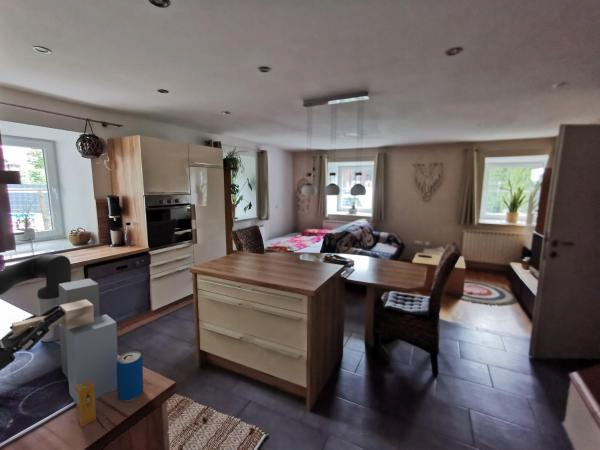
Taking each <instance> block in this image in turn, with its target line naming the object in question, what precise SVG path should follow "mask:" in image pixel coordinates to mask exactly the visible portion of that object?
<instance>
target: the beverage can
mask: <svg viewBox="0 0 600 450" xmlns="http://www.w3.org/2000/svg"><path fill="white" fill-rule="evenodd" d="M143 359H144V358H143V356H142V354H141V352H139V351H129V352H126V353H123V354H121V355H120V356H118V362H117V389H116V390H117V399H118V400H120V401H123V402H131V401H134V400H135V399H136V398H138V397H139V396H140V395H142V393H143V392H144V363H143V362H144V361H143Z"/></svg>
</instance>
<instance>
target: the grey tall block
mask: <svg viewBox="0 0 600 450" xmlns="http://www.w3.org/2000/svg"><path fill="white" fill-rule="evenodd" d="M117 327H118V326H117V321H115V320H114V319H113V318H112V317H110V316H109V315H108V314H102V315H100V316H98V317H94V322H92V323H88V324H85V325H81V326H77V327H74V328H70V329H66V345H67V362H68V379H69V380H68V379H67V380H68V393H69V395H70V397H71V399H72V400H73V401H74V404H76V405H77V403H76V391H75V386H77V385H80V384H82V383H84V382H86V381H88V380H90V381H91V383H93V384H94V394H95V400H97V399H98V398H100V397H102V396H104V395H106V394H108V393H110V392H112V391H115V390H117V362H118V359H119V356H118V354H119V353H118V334H117V333H118V332H117V330H118V328H117Z"/></svg>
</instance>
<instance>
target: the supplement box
mask: <svg viewBox="0 0 600 450" xmlns="http://www.w3.org/2000/svg"><path fill="white" fill-rule="evenodd" d="M75 391H76V403H77V404H76V403H75V404H76V412H77V413H76V414H77V421H78V423H79V425H80V427H81V428H82V427H85V426H87V425H88V424H90V423H91V422H93V421H96V420H97V410H96V399H95V394H94V384H93V383H91V381H90V380H88V381H86V382H84V383H82V384H80V385H77V386H75Z"/></svg>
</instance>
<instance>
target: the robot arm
mask: <svg viewBox="0 0 600 450" xmlns="http://www.w3.org/2000/svg"><path fill="white" fill-rule="evenodd" d="M4 266H5V269H4V270H3V271H0V296H1V295H4V294H6V293H7V292H8V291H9V290H11V289H12V288H13V287H14V286H16V285H18V284H20V283H23V282H26V281H31V280H34V279H35V280H36V279H45V286H42V287H41V288H39V289H37V294H36V295H37V306H38V307H37V308H38V315H37V314H33V315H31V316H29V317H26V318H24V319H22V320H21V321H23V320H28V319H32V318H36V317H40V316H45V315H48V316H46V317H45V318H44V319H45V320H44V319H42V320H40V321H39V322H37V323H36V324H34V325H29V326H28V327H26V328H25V329H23V330H22V331H20V332H19V333H16V334H13V331H12V325H11V326H9V329H10V331H8V332H7V333H6V334H5V335H3V337H2V338H0V371H2V370H4V368H6V367H8V366H9V365H10V364H12V363H13V362H14V361H15V360H16V356H15V355H14V354H16V353H18V352H19V351H21V350H25V351H26V352H28V351H30V350H31V349H32V348H34V346H36V344H38V343H39V341H41V342H44V343H48V342H49V343H50V342H56V341H60V328H59V325H60V324H58V325H54V326H51V324H52V323H54V322H55V321H57V320H58V319H59V318H61V317H62V316H64V315H65V312H64V311H63V310H62V309H61V308H60V301H59V284H62V283H67V282H72V264H71V261H70V258H68V257H67V256H65V255H61V254H52V253H51V254H50V253H43V254H39V255H37V256H34V257H33V256H32V257H31V258H28V259H25V260H22V261H19V262H17V263H14V264H8V265H4ZM29 330H31V331H29Z"/></svg>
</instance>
